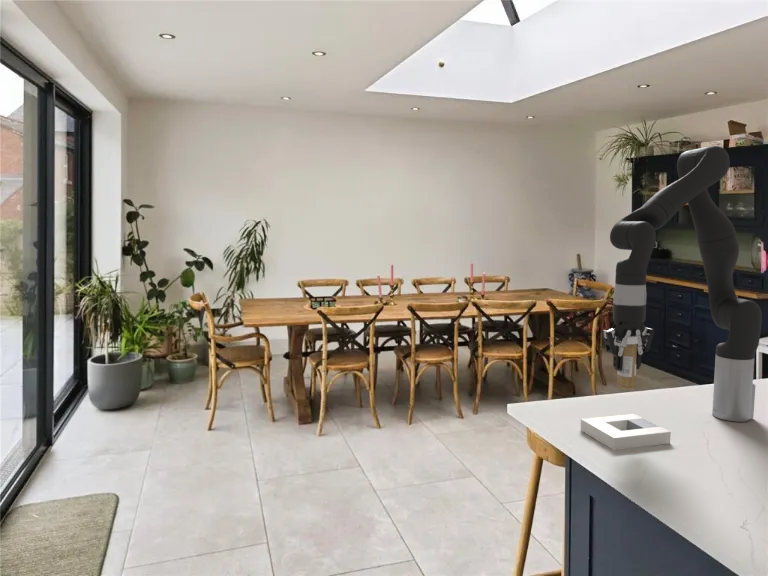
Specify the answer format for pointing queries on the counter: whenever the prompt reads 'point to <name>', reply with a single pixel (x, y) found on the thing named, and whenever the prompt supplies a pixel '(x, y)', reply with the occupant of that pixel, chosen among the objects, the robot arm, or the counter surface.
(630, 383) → the sprinkles bottle
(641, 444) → the housing
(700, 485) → the counter surface
